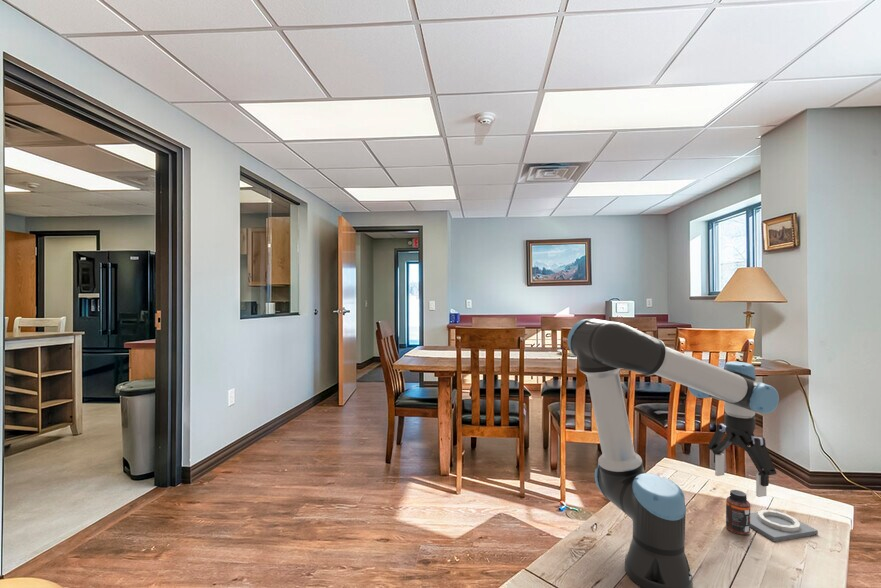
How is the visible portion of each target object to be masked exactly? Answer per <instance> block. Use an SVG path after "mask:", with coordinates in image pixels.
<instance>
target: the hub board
mask: <svg viewBox="0 0 881 588" xmlns="http://www.w3.org/2000/svg"><path fill="white" fill-rule="evenodd" d="M750 529H752V530H754V531H756V532H758V533H759V534H761V535H762V536H764V537H766V538H768V539H769V540H771V541H772V542H774V543H775V542H781V541H786V540H793V539H798V538H805V537H810V536H816V535H815V534H818V535H819V531H818V529H815V528H813V527H812V526H811V525H810V526H809V525H808V524H806V523H804V522H802V521H800V520H798V519H797V518H795V517H793V516H792V515H789V514H787V513H785V512H783V511H782V510H779V509H761V510H758V512H757V511H756V512H750Z"/></svg>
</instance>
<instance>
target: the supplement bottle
mask: <svg viewBox="0 0 881 588" xmlns="http://www.w3.org/2000/svg"><path fill="white" fill-rule="evenodd" d="M750 513H751V503H750V502H749V500H747V494H746V493H745V492H744V491H742V490H739V489H738V490H737V489H730V493H729V496H728V497H726V500H725V527H726V528H727V530H728V531H730V532H731V533H733V534H736V535H742V536H746V535H749V534H750V533H751V528H750Z"/></svg>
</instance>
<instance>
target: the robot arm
mask: <svg viewBox="0 0 881 588" xmlns="http://www.w3.org/2000/svg"><path fill="white" fill-rule="evenodd" d="M567 346H568V349H569V351H570V352H571V353H572V354H573V356H575V357H576V359H577V363H578V367H579V371H580V372H581V373H583V374H584V375H586V379H587V384H588V390H589V394H590V395H589V396H590V400H591V404H592V409H593V414H594V415H593V416H594V419H595V425H596V429H597V435H598V440H599V444H600V450H601V453H602V454H600V455H599V457H598V460H597V468H595V470H594V480H595V485H596V486H597V489H598V490H599V491H600V493H601V494H602V495H603V496H604V498H606V499H607V500H608V501H610V502H611V503H612V504H613V505H615V506H616V507H617V508H618V509H619V510H621V511H622V512H623V513H624V514H625V515H626V516H627V517H629V518H630V519H631V520H632V538H631V542H630V545H629V549H628V551H627V552H626V554H625V558H624V569H625V572H626V575H627V576H628V577H629V579H631V580H632V582H634V583H635V584H636V585H638V586H639V587H641V588H693V573H692V570H691V567H690V565H689V564H690V563H689V562H688V558H687V555H686V551H685V547H686V546H685V544H686V543H685V540H686V511H687V506H686V498H685V494H684V492H683V490H682V488H681V487H680V486H679V484H677V483H676V482H674V481H673V480H671V479H670V478H668V477H665V476H660V475H659V474H655V473H650V472H649V473H648V472H646V473H645V468H644V464H643V459H642V457H641V456H640V455H639V454H638V453H637V452H635V448H634V442H633V439H632V438H633V437H632V434H631V433H632V432H631V426H630V422H629V417H628V413H627V408H626V403H625V402H626V401H625V397H624V392H623V387H622V381H621V378H620V377H621V376H620V370H626V371H631V372H634V373H639V374H641V375H644V376H654V375H656V376H658V377H661V378H663V379H667V380H669V381H672V382H675V383H676V384H679V385H682V386H684V387H687V388H688V391H689V393H690V394H691V395H692V396H693V397H695V398H698V399H707V398H711V399H715V400H718V401H721V402H723V403H724V405H723V406H724V409H723V410H724V412H725V413H724V416H723V417H724V421H723V422H724V423H717V424H716V427H715V432H714V433H713V436H712V437H711V440H710V442H709V444H708V445H707V449H708V450H709V451H710V450H711V451H712V453H713V463H714V465H715V466H714V467H715V468H714V471H715V473H714V475H715V476H716V477H720V476H725V454H724V451H725V450H727V449H728V448H729V447H730V446H731V445H734V446H738V448H742V449H743V451H745V452H746V453H747V455H748V456H749V458H750V460H751V461H752V463H753V465H754V467H755V468H756V470H757V472H756V475H755V479H756V480H755V482H756V483H755V484H756V485H755V490H756V491H755V495H756V497H758V498H761V497H767V487H769V483H770V481H769V479H770V476H775V475H777V470H776V468H775V464H774V463H773V461H772V458H771V456H770V453H769V451H768V448H767V446H766V439H765V437H763V436H760V437H758V436H755V434H754V432H755V430H756V417H755V415H756V413H760V414H763V415H767V414H770V413H772V412H774V411H775V410H776V409H777V408H778V404H779V402H780V397H779V396H780V395H779V392H778V390H777V389H776V388H775V387H774V386H772V385H770V384H767V383H764V382H761V381H760V382H759V381H756V380H757V377H756V368H755V365H753V364H751V363H749V362H743V361H727V362H725V363H724V368H722V367H720V366H716V365H714V364H711V363H709V362H707V361H703V360H701V359H698V358H696V357H694V356H691V355H690V354H689V355H688V354H686V353H683V352H681V351H678V350H675V349H673V348H670V347H668V346H666V345H665V343H664V342H663V340H661V339H659V338H657V337H654V336H652V335H649V334H648V333H645V332H643V331H641V330H639V329H636V328H634V327H632V326H630V325H627V324H625V323H623V322H620V321H619V322H618V321H611V320H605V319H599V318H585V319H581V320H579V321H576V323H574V325H573V326H572V327H571V329H570V330H569V332H568V335H567ZM725 434H726V436H725ZM724 436H725V437H724Z"/></svg>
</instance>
